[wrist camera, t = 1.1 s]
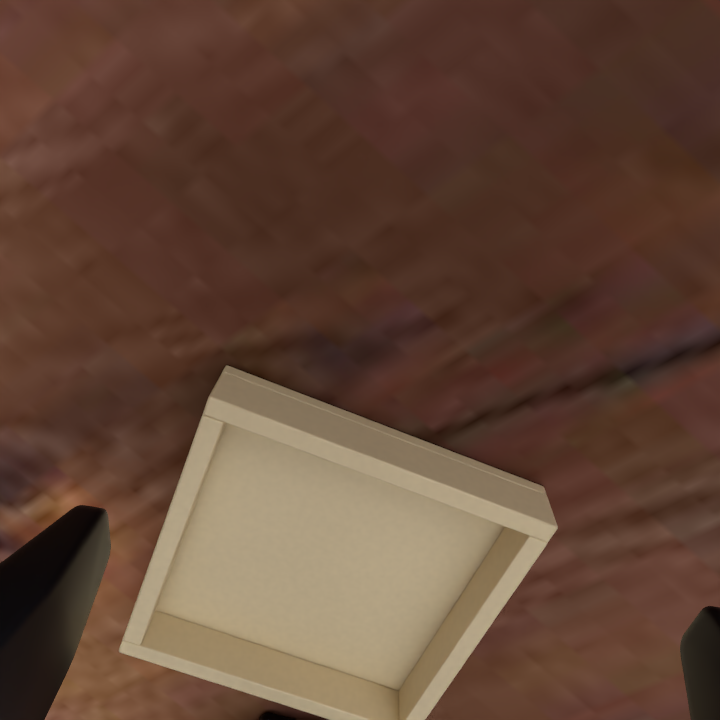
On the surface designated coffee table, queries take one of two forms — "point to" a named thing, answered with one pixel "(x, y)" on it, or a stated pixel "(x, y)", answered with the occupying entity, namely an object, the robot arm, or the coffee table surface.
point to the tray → (330, 557)
